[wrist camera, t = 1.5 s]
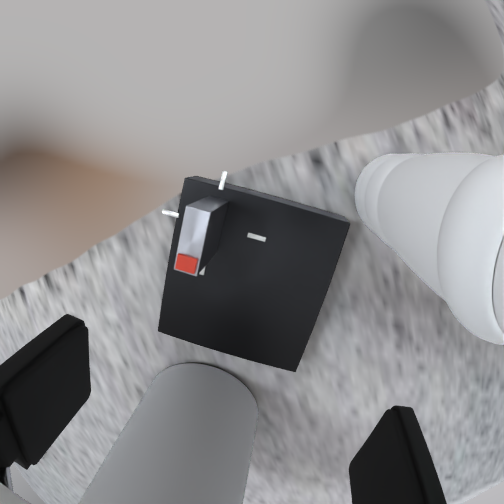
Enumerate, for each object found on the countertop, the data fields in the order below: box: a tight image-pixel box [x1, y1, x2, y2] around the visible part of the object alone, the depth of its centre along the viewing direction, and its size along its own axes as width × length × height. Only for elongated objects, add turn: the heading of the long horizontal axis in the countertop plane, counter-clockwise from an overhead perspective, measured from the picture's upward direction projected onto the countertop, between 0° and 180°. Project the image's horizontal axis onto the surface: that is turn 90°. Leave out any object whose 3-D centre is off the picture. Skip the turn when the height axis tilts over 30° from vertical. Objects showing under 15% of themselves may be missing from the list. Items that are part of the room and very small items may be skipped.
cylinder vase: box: [78, 363, 258, 504], centre depth 22 cm, size 12×12×25 cm
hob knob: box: [174, 196, 229, 276], centre depth 22 cm, size 4×2×6 cm, turn 166°
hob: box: [158, 171, 350, 372], centre depth 27 cm, size 15×14×3 cm
